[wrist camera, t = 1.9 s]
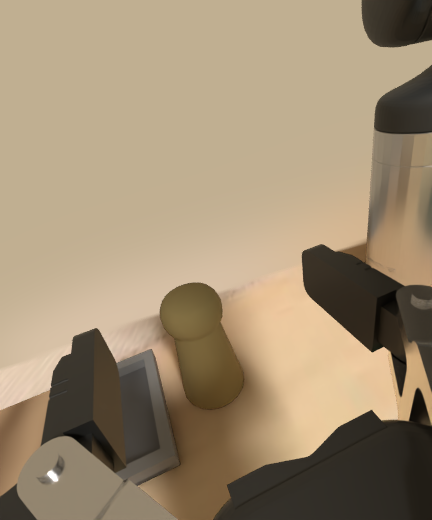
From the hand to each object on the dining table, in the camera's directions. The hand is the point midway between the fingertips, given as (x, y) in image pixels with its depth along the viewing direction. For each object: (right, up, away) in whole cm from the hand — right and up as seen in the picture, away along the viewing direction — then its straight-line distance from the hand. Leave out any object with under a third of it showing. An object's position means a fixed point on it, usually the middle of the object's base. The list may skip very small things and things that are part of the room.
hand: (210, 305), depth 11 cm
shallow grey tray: (-9, -14, +17) cm, 23 cm away
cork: (0, -10, +19) cm, 21 cm away
